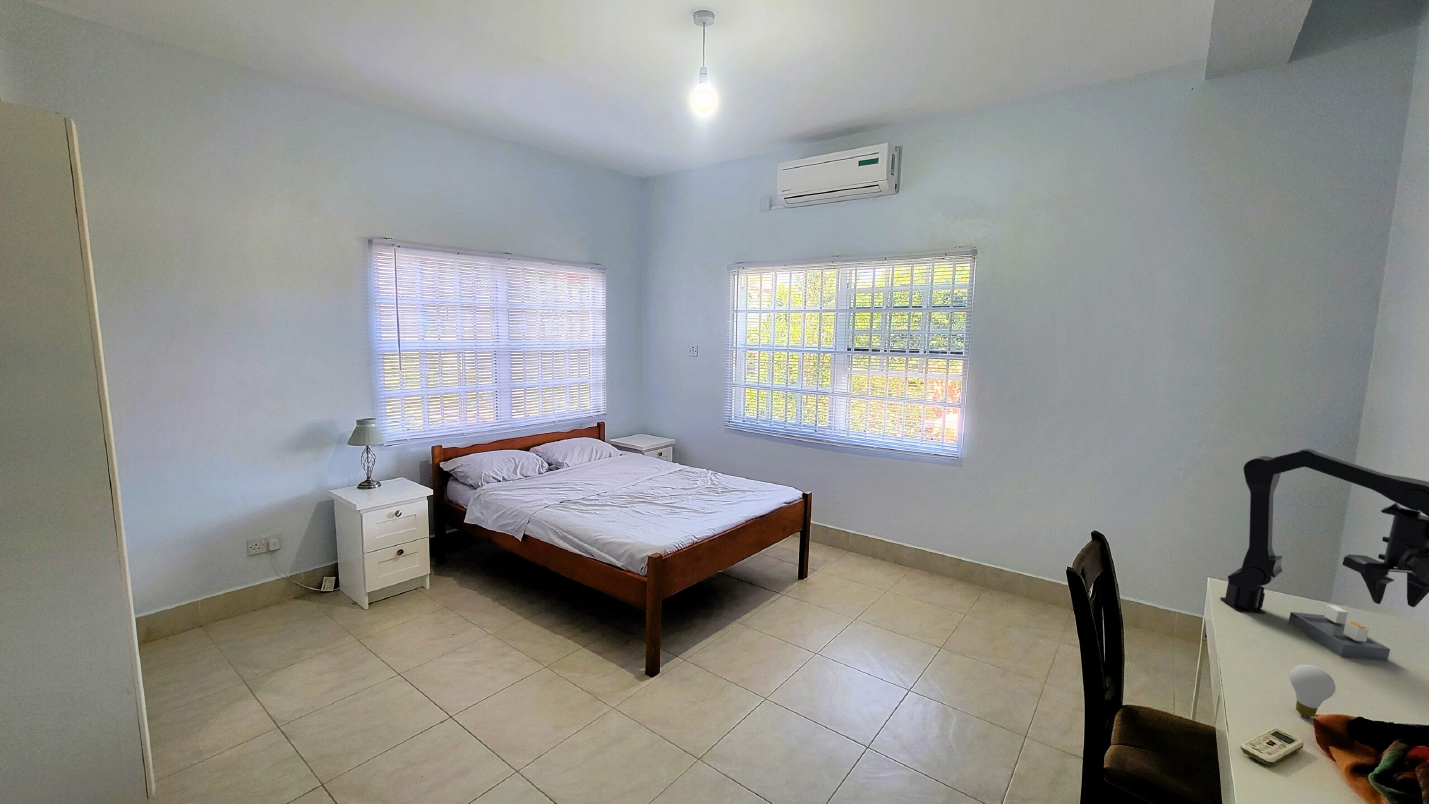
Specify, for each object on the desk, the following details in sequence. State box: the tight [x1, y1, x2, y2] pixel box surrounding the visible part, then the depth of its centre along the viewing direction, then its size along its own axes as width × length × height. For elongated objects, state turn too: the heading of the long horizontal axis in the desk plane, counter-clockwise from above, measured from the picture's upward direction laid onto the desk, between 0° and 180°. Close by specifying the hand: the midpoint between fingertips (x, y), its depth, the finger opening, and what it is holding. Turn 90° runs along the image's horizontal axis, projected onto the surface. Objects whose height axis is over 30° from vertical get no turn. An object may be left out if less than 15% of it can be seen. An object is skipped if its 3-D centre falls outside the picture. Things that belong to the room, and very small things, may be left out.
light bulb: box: [1289, 664, 1336, 718], centre depth 107 cm, size 6×6×10 cm
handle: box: [1323, 604, 1349, 624], centre depth 136 cm, size 2×3×3 cm, turn 172°
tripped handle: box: [1343, 620, 1369, 642], centre depth 129 cm, size 2×3×3 cm, turn 172°
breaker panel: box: [1288, 611, 1391, 662], centre depth 133 cm, size 9×14×3 cm, turn 172°
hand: (1393, 604), depth 127 cm, fingers open, 6 cm apart
